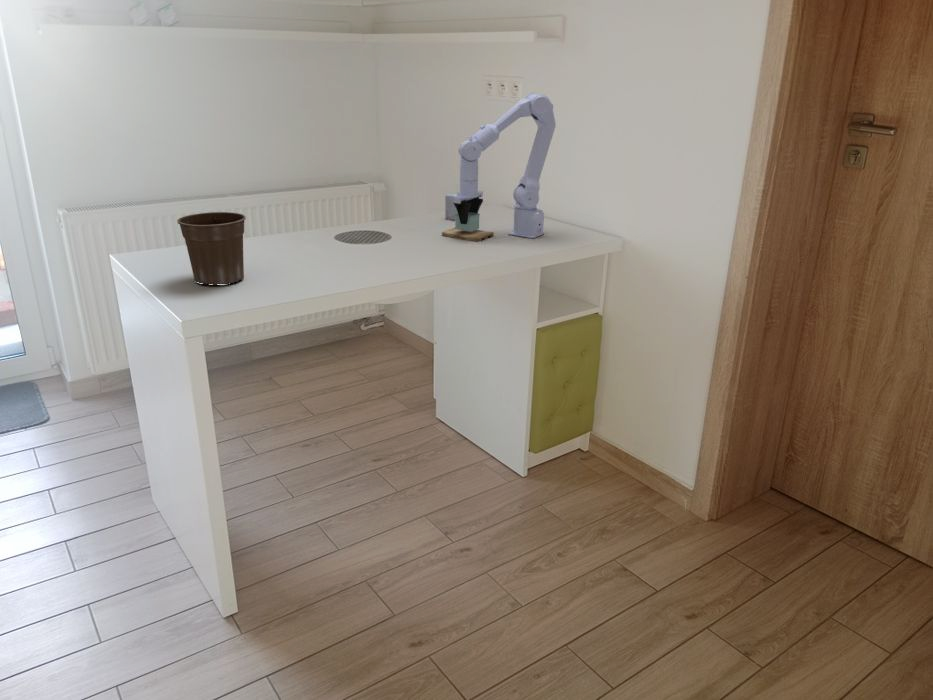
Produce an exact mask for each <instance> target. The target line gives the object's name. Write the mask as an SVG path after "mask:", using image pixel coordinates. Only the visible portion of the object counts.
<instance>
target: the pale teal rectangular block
mask: <svg viewBox="0 0 933 700" xmlns="http://www.w3.org/2000/svg"><path fill="white" fill-rule="evenodd" d="M480 214H481V213H479V212H478V213H472V212H469V213H468V221H467V224H460V219H459V215H458V213H457V214H455V216H456V221H455V227H454V228H455V229H457V230H464V231H470V232H472V231H474V230H480Z"/></svg>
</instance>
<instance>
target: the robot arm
mask: <svg viewBox="0 0 933 700" xmlns="http://www.w3.org/2000/svg"><path fill="white" fill-rule="evenodd" d="M526 117H527V118H528V117H532V119H533V120H534V122H535V124H536V126H537V131H536V134H535V135H534V136H535V138H534V139H533V143H532V146H531V150H530V153H529V156H528V159H527V164H526V167H525V170H524V174H523V176H522V177H521V179H520V180H519V184H518V185H517V186H516V187H515V189H514V191H513V195H512V197H513V199H514V201H515V205H514V209H513V211H514V212H513V231H510V232H508V236H509V235H510V236H517V237H522V238H529V239H535V238H537V237H540V236H542V235H544V234H545V233H544V221H545V214H544V211H543V210H542V209H539V208H537V205H538V204H539V202H540V201H539V200H540V194H539V193H540V179H541V175H542V172H543V169H544V166H545V163H546V158H547V156H548V152H549V149H550V146H551V142H552V138H553V135H554V132H555V130H556V129H555V128H556V119H555V114H554V105H553V103H552V102H551V100H550V99H549V97H548V96H546V95H545V94H537V93H535V92H531V93H529V94H527V95H526V96H525V97H523V98H521V99H520V100H519V101H518V102H517V103H516V104H514V105H513V106H512V107H511V108H510V109H509V110H508V111H506V112H505V113H504V114H503V115H502V116H501V117H500V118H499V119H498V120H496V122H494V123H493V124H492V123H487V124H482V125H481V126H480V129H479V130H478V131H477V132H476V133H474V134H473V135H469V136H468V139H467V140H464V141H462V143H461V144H460V146H459V147H458V154H459V156H460V165H459V167H460V168H459V171H460V172H459V192H457V193H456V194H457V196H455V197H454V206H455V207H456V209H457V212H458V215H459V219H460V224H467V221H468V213H469V212H472V213H479V211H480V209H481V205H482V204H483V202H484V199H483V193H484V191H483V190H479V189H478V188H479V158H480V156H481V155H482V152H484V151H486V150H487V149H488V148H489V147H490V146H492V145H493V144H494V143H495V142H497V141H498V140H499V138H500V134H501V133H502V132H503V131H504V130H505V129H507V128H508V127H510V126H511V125H513V124H514V122H516V121H517V120H519V119H521V118H526Z"/></svg>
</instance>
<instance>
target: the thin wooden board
mask: <svg viewBox="0 0 933 700" xmlns="http://www.w3.org/2000/svg"><path fill="white" fill-rule="evenodd" d="M441 235H442V237H447V238H448V237H449V238H453V237H455V238H454V239H459V238H461V240H465V239H468V240H467V241H471V240H473V242H477V241H480V242H482V241H483V240H487V239H489V238H492V236H493V237H494V235H495V232H494V231H488V230H481V229H477V230H474V231H472V232H470V231H464V230H457V229H455V227H453V228H450V229H448V230H447V229H446V230H445V231H444V230H443V231H442V232H441Z"/></svg>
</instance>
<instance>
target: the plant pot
mask: <svg viewBox="0 0 933 700" xmlns="http://www.w3.org/2000/svg"><path fill="white" fill-rule="evenodd" d="M246 218H247V217H246V215H245V214H242V213H238V212H227V211H211V212H199V213H194V214H189V215H184V216H182V217H179V218H178V219H177V224H179V227H180V230H181V234H182V237H183V238H184V242H185V245H186V250H187V253H188V258H189V262H190V266H191V267H190V268H191V269H192V274H193V279H194V282H195V281H196V282H199V283H203V284H204V285H207V284H213V285H217V284H229V283H233V284H235V283H234V282H237V283H238V282H239V281H243V280H244V278H245V272H244V270H245V265H244V233H245V221H246ZM242 279H243V280H242ZM196 282H195V283H196ZM229 285H230V284H229Z"/></svg>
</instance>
